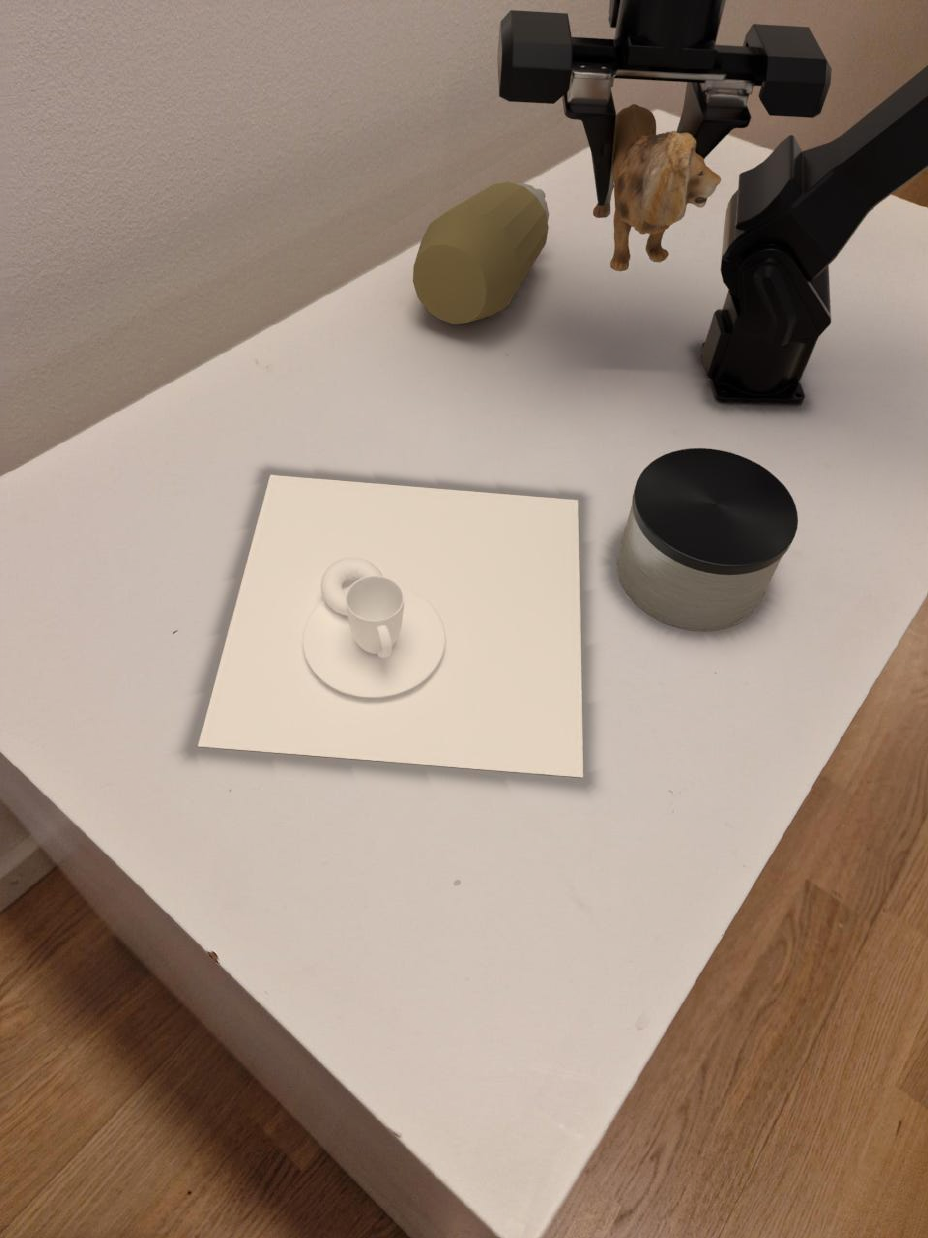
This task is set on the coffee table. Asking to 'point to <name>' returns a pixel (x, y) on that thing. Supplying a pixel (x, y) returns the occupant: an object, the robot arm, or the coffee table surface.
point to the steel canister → (704, 538)
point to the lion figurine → (651, 182)
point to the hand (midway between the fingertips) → (631, 204)
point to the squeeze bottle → (481, 252)
